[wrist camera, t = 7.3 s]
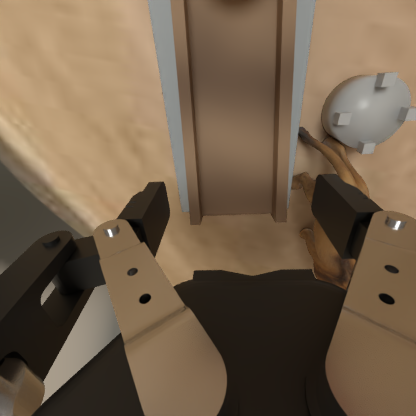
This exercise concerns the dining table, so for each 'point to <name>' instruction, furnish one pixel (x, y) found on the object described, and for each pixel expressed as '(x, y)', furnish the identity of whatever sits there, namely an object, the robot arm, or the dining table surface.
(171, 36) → the deck
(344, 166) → the lion figurine
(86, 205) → the dining table surface
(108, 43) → the dining table surface
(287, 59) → the ramp
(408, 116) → the grey dome cap
